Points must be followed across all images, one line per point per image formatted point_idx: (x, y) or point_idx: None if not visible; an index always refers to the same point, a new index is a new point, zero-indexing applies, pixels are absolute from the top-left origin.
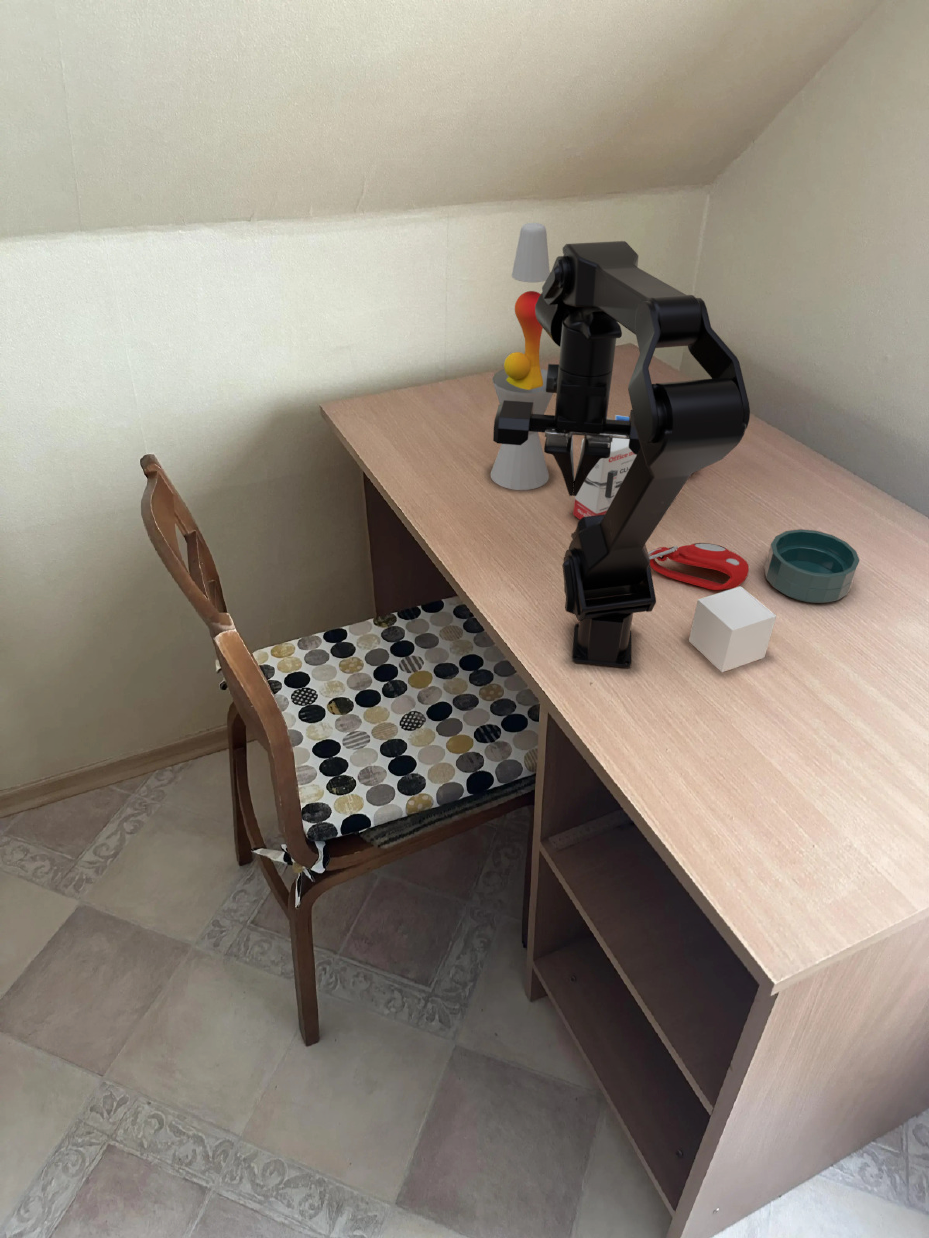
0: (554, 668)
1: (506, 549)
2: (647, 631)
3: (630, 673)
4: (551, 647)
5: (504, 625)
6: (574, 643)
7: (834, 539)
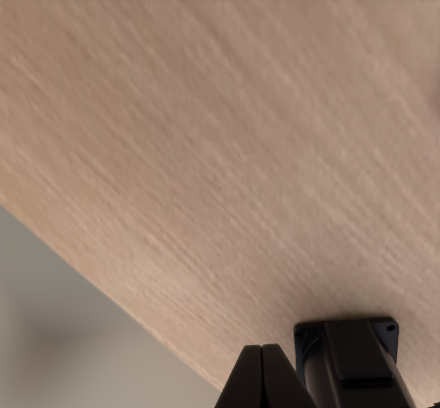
0: None
1: (90, 109)
2: (428, 303)
3: None
4: None
5: (174, 339)
6: (298, 370)
7: None
